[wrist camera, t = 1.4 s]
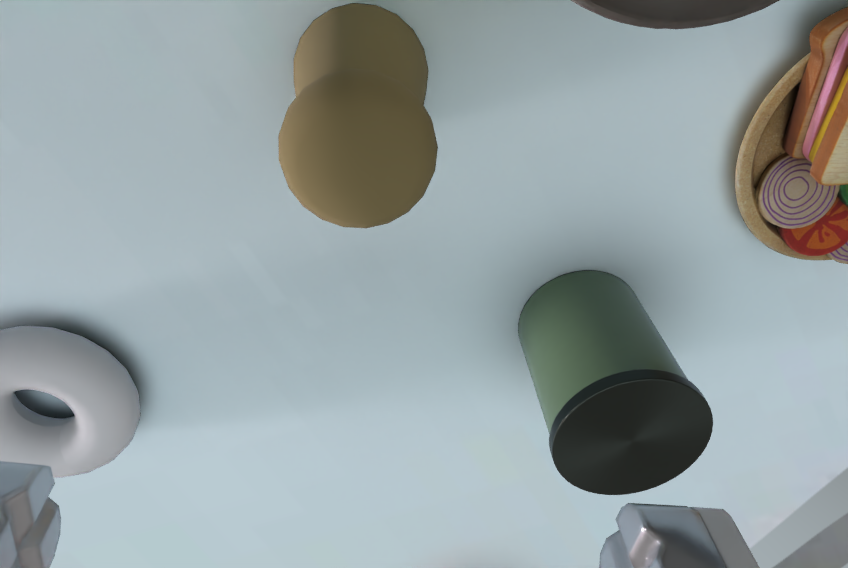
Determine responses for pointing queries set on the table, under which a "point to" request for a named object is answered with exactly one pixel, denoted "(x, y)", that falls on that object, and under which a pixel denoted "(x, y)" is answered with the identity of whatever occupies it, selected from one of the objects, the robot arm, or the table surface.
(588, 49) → the table surface
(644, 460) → the olive tin
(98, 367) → the donut
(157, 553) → the table surface
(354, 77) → the cork
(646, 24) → the coffee can
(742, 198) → the toy sandwich meal
